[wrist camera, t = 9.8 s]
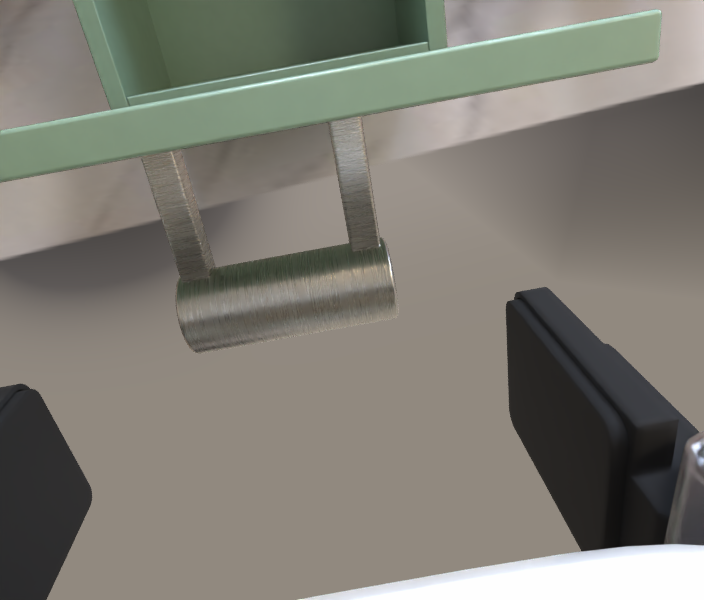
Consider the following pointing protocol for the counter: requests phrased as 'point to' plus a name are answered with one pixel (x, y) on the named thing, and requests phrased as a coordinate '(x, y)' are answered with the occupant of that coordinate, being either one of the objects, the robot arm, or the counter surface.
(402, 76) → the bin lid
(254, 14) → the bin
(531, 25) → the counter surface
